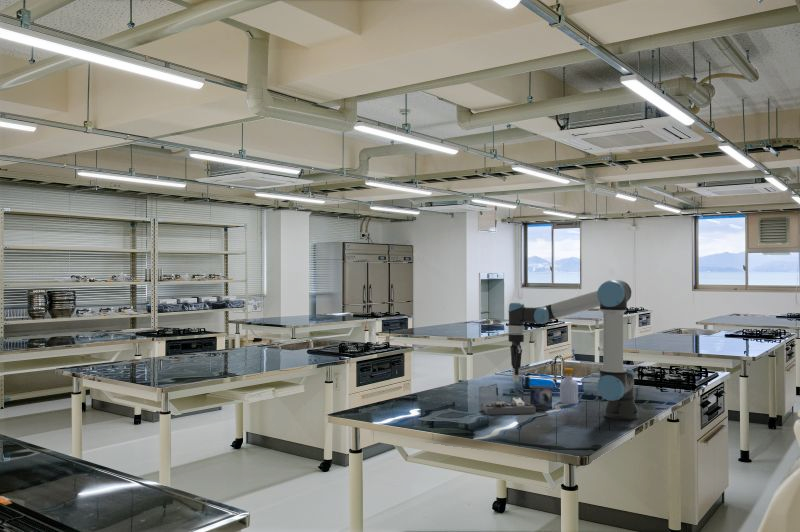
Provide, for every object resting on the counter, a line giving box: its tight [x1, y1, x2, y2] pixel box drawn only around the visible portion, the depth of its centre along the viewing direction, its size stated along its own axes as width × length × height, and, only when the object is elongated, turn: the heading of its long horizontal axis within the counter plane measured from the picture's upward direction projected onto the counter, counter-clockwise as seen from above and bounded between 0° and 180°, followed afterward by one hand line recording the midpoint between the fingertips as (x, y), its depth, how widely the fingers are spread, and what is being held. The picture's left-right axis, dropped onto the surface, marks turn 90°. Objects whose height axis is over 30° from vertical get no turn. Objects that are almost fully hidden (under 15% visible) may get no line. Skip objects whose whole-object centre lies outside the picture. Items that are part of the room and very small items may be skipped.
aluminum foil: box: [591, 372, 600, 378], centre depth 396 cm, size 23×7×3 cm, turn 47°
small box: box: [529, 385, 553, 410], centre depth 316 cm, size 11×6×10 cm, turn 82°
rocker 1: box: [492, 400, 505, 404], centre depth 306 cm, size 8×4×1 cm, turn 5°
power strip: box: [481, 400, 549, 415], centre depth 307 cm, size 10×32×5 cm, turn 96°
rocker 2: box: [512, 397, 525, 407], centre depth 307 cm, size 8×4×1 cm, turn 6°
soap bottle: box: [559, 355, 579, 405], centre depth 327 cm, size 9×9×25 cm
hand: (515, 381), depth 310 cm, fingers closed
